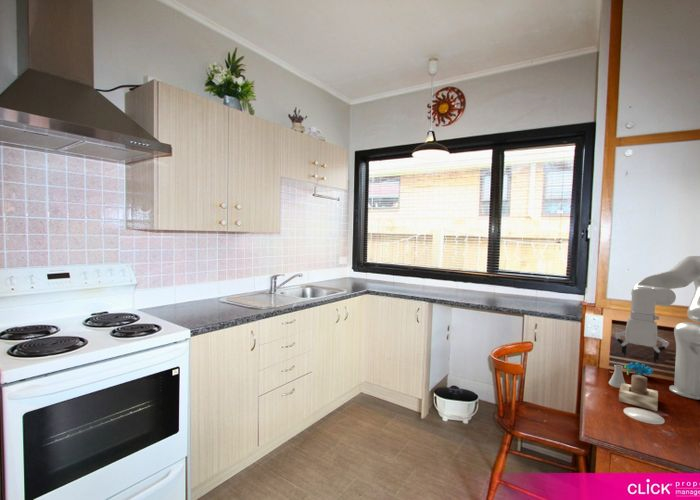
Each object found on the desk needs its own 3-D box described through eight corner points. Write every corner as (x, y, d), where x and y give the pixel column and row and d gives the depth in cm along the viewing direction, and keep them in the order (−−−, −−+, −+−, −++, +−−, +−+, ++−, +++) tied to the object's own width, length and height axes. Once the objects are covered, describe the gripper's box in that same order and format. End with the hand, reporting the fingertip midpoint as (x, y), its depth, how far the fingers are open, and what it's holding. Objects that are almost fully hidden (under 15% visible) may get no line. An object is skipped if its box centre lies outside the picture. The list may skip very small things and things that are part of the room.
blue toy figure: (655, 374, 173) (650, 362, 169) (654, 385, 170) (649, 373, 166) (627, 370, 182) (622, 359, 178) (626, 380, 179) (620, 369, 175)
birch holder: (657, 402, 146) (658, 391, 146) (657, 413, 137) (657, 400, 137) (621, 393, 154) (621, 382, 154) (618, 403, 145) (619, 391, 145)
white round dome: (644, 410, 139) (644, 407, 139) (673, 426, 127) (673, 423, 127) (615, 410, 139) (615, 407, 139) (642, 427, 127) (642, 423, 127)
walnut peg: (638, 397, 148) (639, 374, 148) (649, 403, 143) (650, 379, 143) (627, 397, 148) (628, 374, 147) (637, 403, 143) (639, 379, 142)
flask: (620, 384, 164) (621, 363, 164) (631, 391, 157) (632, 369, 156) (604, 383, 165) (605, 362, 164) (614, 390, 158) (615, 368, 157)
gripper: (670, 319, 141) (667, 361, 142) (616, 312, 153) (614, 351, 153) (670, 322, 136) (667, 366, 136) (615, 314, 147) (612, 354, 148)
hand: (639, 358), depth 145 cm, fingers open, 9 cm apart
